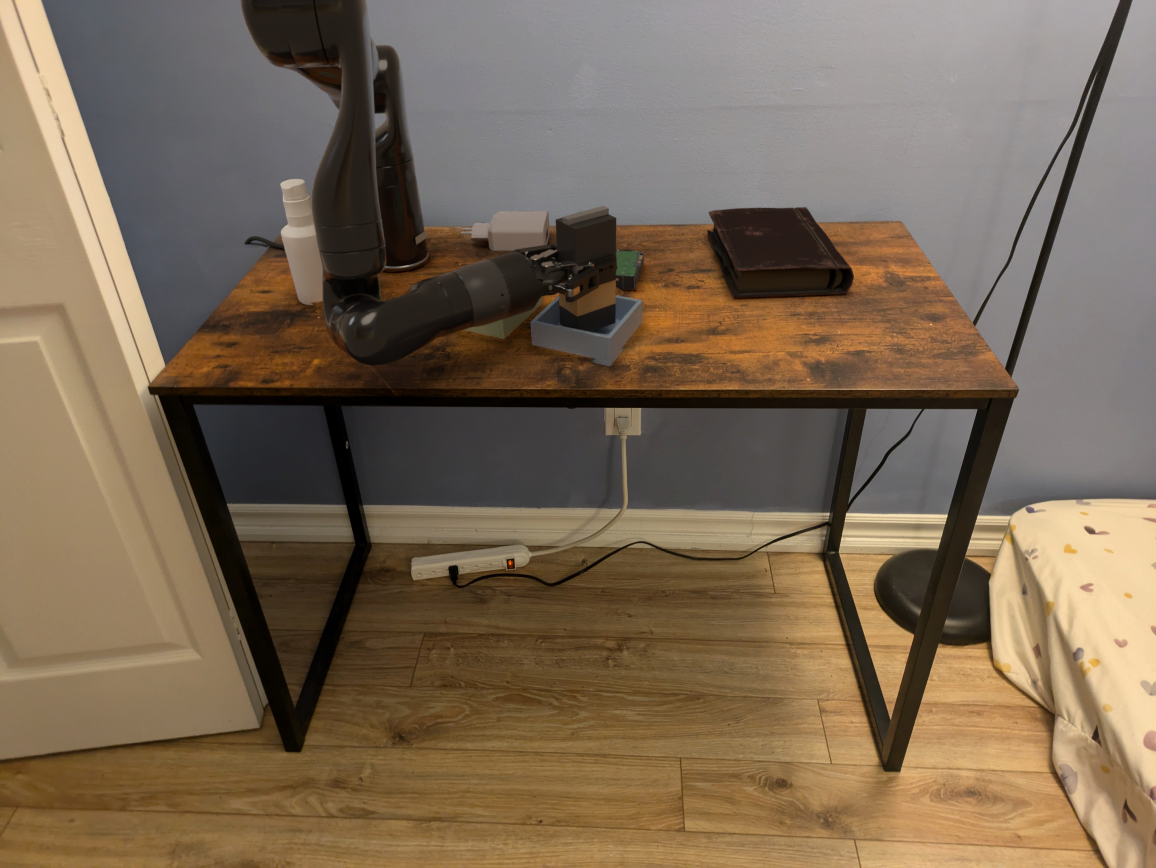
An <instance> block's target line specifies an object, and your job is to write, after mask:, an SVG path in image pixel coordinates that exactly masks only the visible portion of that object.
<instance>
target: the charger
mask: <svg viewBox="0 0 1156 868" xmlns="http://www.w3.org/2000/svg"><path fill="white" fill-rule="evenodd" d="M549 213H550V212H549V211H548V210H521V211H520V210H514V211H513V210H510V211H509V210H508V211H507V210H500V211H497V212H496V213H494V214H493V215H492V217H491V219H490V222H474V223H473V225H472V227H463V228H462V230H463V231H460V234H461V235H470V239H471V241H488V248H489V250H490V251H493V252H513V251H514V250H515V249H522V248H528V247H535V246H542V245H548V244H549V239H550V214H549Z"/></svg>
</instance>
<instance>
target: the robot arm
mask: <svg viewBox="0 0 1156 868" xmlns="http://www.w3.org/2000/svg"><path fill="white" fill-rule="evenodd" d="M239 1H240V7H241V13H242V17H243V21H244V24H245V27H246V29H247V32H248V33H249V36H250V38H251V40H252V42H253V44H254V46H255V47H256V48H257V50H258V51H259V53H260V54H261V56H263V57H264V59H265V60H266V61H267V62H269V63H270V64H271V65H273V66H275V67H276V68H281V69H286V70H290V71H293V72H295V73H297V74H299V75H300V76H302V77H303V78H305V79H307V81H309V82H310V83H311V84H312V85H314V86H315V87H317V88H318V89H319V90H320V91H322V92H324V93H325V94H327V95H328V97H329V99H330V101H331V102H332V103H333V105H334V106H335V107H336V110H338V112H337V117H336V119H335V124H334V127H333V129H332V133H331V135H330V137H329V140H328V143H327V145H326V148H325V150H324V152H323V154H322V156H321V158H320V161H319V163H318V166H317V168H316V171H315V175H314V178H313V183H312V186H311V195H310V199H311V208H312V216H313V221H314V227H315V232H316V238H317V243H318V249H319V254H320V258H321V262H322V267H323V275H322V292H323V301H322V312H323V318H324V322H325V326H326V327H325V328H326V331H327V333H328V336H329V338H330V339H331V341H332V342H333V344H334V345H335V346H336V347H337V348H338V349H340V350H341V351H343V352H344V353H346V354H347V355H348V356H349V357H350V358H352V359H354V360H355V361H356V362H358V363H360V364H361V365H367V366H383V365H388V364H391V363H394V362H397V361H399V360H403V359H404V358H406V357H408V356H410V355H412V354H414V353H415V352H417V351H419V350H421V349H423V348H424V347H426V346H428V345H429V344H431V343H432V342H434V341H435V340H436V339H438V338H442V337H443V338H444V337H447V336H449V335H452V334H455V333H459V332H462V331H465V329H468V328H472V327H477V326H483V325H487V324H490V323H493V322H496V321H499V320H503V319H506V318H509V317H512V316H515V315H518V314H521V313H524V312H527V311H530V310H532V309H533V308H534V307H535V306H536V304H537V302H538V301H539V299H540V298H541V297H542V298H543V297H546V296H548V297H549V296H554V295H557V294H559V293H560V294H563V295H565V300H566V302H570V303H571V302H574V301H576V300H578V299H580V298H581V297H583V296H585V295H586V294H588V293H590V292H592V291H593V290H595V289H597V288H598V287H599V276H603V275H606V274H609V273H612V272H615V271H616V269H617V258H616V256H614V255H612V254H611V255H608V256H604V257H601V258H598V259H595V260H591V261H588V262H582V263H579V264H576V263H575V261H573V260H570V261H563V262H559V261H558V252H557V243H556V244H555V243H550V244H549V243H547V245H542V246H535V247H528V248H522V249H515V250H514V251H510V252H507V253H504V254H500V255H496V256H494V257H490V258H486V259H482V260H479V261H476V262H472V263H469V264H466V265H464V266H461V267H458V268H456V269H455V270H451V271H448V272H445V273H442V274H438V275H435V276H431V277H427V278H425V279H421V280H419V281H417V282H415V283H413V284H412V285H410V286H409V288H408V290H407V292H406V293H405V294H402V295H400V296H397V297H394V298H391V299H387V300H382V294H381V281H380V275H381V273H383V272H387V273H401V272H407V271H412V270H416V269H418V268H421V267H423V266H425V265H426V264H427V263H428V262H429V260H430V254H429V250H428V245H427V231H426V230H425V225H424V224H425V223H424V217H423V211H422V203H421V197H420V192H419V191H420V190H419V185H418V178H417V171H416V165H415V159H414V153H413V148H412V147H413V146H412V142H411V135H410V129H409V122H408V114H407V104H406V93H405V84H404V83H405V81H404V76H403V69H402V63H401V59H400V57H399V54H398V52H397V50H396V49H395V48H394V47H393V46H392V45H390V44H376V43H375V41H374V40H373V38H372V36H371V29H370V28H371V27H370V18H369V12H368V11H369V10H368V5H367V0H239ZM380 114H381V115H383V114H384V115H385V117H386V118H385V120H384V122H382V123H381V124H380V125H379V126H378V127H377V128H376V117H375V116H376V115H380ZM252 242H260V243H263V244H266V245H268V246H269V247H272V248H276V249H280V250H285V248H284V244H283V243H282V244H281V243H277V242H274V241H272V240H269V239H267V238H264V237H263V236H256V235H252V236H249V237H248V238H247V239H246V240H245V241H244V245H250V244H251V243H252ZM568 268H570V277H569V278H567V269H568ZM584 269H585V271H583V272H582V273H580V274H578V271H579V270H584Z"/></svg>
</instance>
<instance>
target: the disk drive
mask: <svg viewBox="0 0 1156 868" xmlns="http://www.w3.org/2000/svg"><path fill="white" fill-rule="evenodd" d="M616 258H617V269H616V289H619V290H620V291H636V290H637V287H638V283H639V281H640V278H641V277H640V276H641V274H642V270H643V267H644V261H645V260H644V258H645V255H644V252H643V251H639V250H632V249H617V248H616Z"/></svg>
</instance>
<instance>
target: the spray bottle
mask: <svg viewBox="0 0 1156 868" xmlns="http://www.w3.org/2000/svg"><path fill="white" fill-rule="evenodd" d="M279 185H280V189H281V193H282V203H283V208H284V211H285V217H286V221H287V224H286V225H285V226H284V227H282V229H281V230H280V236H281V240H282V245H284V248H285V249H284V252H285V255H286V259H287V263H288V266H289V270H290V274H291V277H292V282H293V285H294V289H295V292H296V293H295V294H296V296H297V300H298V301H299V302H300V303H301V304H303V305H306V306H313V307H314V306H315V305H314V303H322V302H323V292H322V275H323V267H322V262H321V258H320V254H319V249H318V243H317V238H316V232H315V227H314V221H313V216H312V208H311V195H310V194H309V192H308V190H307V185H306V180H304V179H302V178H290V179H286V180H284V181H281V182H280V184H279Z"/></svg>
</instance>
